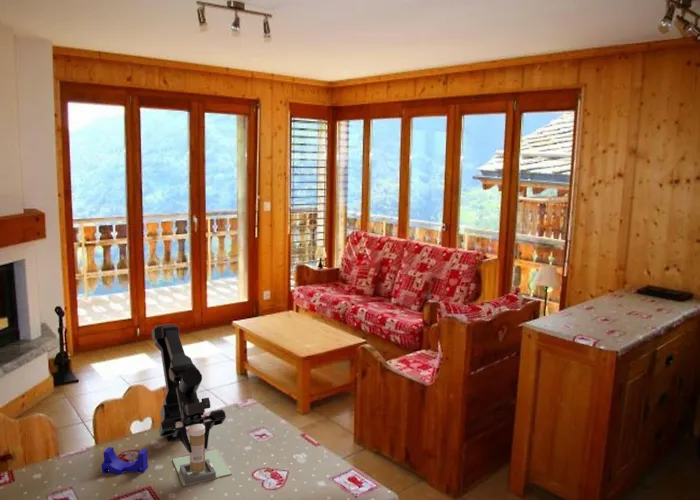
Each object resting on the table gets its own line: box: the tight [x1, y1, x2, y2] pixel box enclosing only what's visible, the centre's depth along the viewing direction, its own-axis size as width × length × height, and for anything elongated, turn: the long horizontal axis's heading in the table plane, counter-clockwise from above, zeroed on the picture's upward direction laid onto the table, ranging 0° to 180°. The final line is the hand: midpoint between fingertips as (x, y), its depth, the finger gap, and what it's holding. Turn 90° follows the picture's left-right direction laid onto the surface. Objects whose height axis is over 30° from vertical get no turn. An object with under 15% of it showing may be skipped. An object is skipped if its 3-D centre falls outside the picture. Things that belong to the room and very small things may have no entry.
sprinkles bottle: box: [188, 424, 206, 473], centre depth 163 cm, size 5×5×14 cm
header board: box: [172, 449, 232, 487], centre depth 169 cm, size 16×14×2 cm
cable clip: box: [101, 446, 149, 475], centre depth 166 cm, size 12×4×6 cm, turn 86°
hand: (198, 450), depth 162 cm, fingers closed on sprinkles bottle, 4 cm apart
